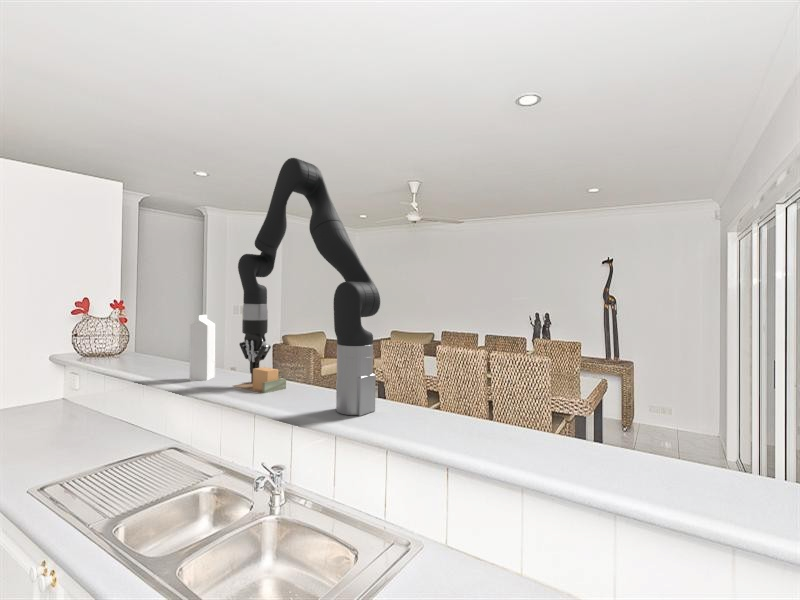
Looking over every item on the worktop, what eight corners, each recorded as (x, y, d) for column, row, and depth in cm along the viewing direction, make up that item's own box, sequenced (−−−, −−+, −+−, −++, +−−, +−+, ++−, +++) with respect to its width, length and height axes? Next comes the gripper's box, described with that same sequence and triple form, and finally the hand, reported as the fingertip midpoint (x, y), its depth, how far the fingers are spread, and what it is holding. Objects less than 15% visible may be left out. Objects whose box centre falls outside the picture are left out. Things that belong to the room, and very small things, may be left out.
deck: (286, 390, 138) (286, 378, 138) (264, 394, 131) (264, 382, 131) (253, 383, 147) (253, 372, 147) (231, 387, 140) (231, 376, 140)
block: (278, 389, 137) (278, 369, 137) (267, 391, 133) (267, 371, 133) (263, 385, 141) (263, 367, 141) (252, 388, 137) (252, 368, 137)
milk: (189, 381, 148) (189, 315, 148) (198, 377, 155) (198, 314, 154) (207, 381, 148) (207, 315, 148) (215, 378, 154) (215, 314, 154)
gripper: (278, 318, 139) (277, 374, 139) (252, 316, 147) (251, 369, 147) (258, 320, 133) (257, 378, 133) (231, 317, 140) (231, 372, 141)
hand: (254, 373), depth 140 cm, fingers closed
